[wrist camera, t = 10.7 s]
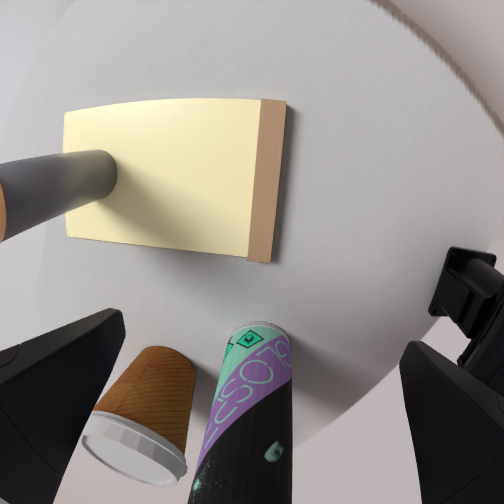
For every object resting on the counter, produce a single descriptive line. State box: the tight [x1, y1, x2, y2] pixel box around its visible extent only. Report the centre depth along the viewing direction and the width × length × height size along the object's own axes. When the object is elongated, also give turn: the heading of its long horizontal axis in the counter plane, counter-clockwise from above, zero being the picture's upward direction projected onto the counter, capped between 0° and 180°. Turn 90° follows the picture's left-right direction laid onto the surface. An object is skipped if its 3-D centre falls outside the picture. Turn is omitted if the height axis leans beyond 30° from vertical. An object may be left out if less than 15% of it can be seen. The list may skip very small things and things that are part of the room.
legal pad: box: [63, 98, 287, 263], centre depth 19 cm, size 18×11×1 cm, turn 85°
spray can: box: [188, 322, 293, 504], centre depth 14 cm, size 6×6×20 cm
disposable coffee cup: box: [78, 346, 196, 487], centre depth 20 cm, size 10×10×12 cm
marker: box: [0, 150, 117, 243], centre depth 12 cm, size 4×4×14 cm
